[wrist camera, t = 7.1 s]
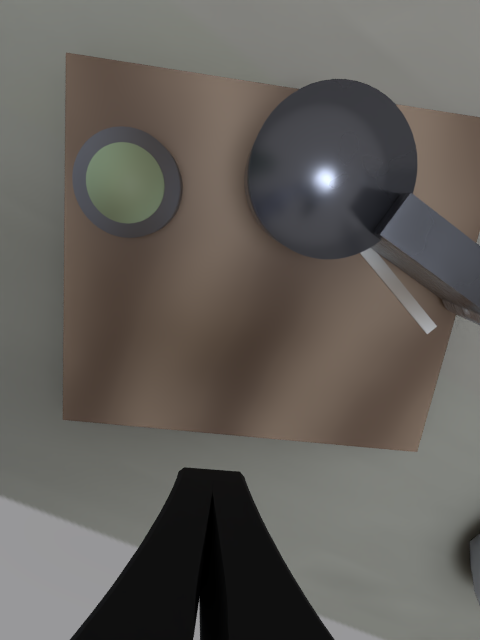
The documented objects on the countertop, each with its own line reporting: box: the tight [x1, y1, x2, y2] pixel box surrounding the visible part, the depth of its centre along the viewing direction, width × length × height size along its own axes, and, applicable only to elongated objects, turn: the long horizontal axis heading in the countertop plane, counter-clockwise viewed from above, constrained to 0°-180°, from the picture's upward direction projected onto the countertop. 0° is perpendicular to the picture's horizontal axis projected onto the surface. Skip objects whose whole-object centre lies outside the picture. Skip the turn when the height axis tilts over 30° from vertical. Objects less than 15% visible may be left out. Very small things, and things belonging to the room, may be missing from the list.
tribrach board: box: [63, 53, 480, 452], centre depth 16 cm, size 16×14×2 cm
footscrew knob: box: [244, 79, 480, 325], centre depth 13 cm, size 11×5×4 cm, turn 56°
